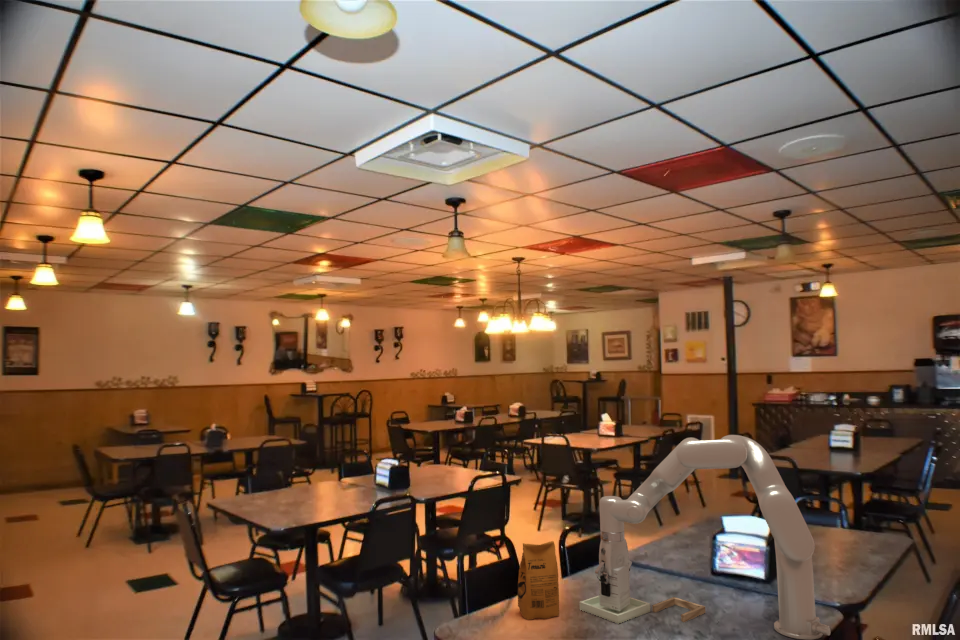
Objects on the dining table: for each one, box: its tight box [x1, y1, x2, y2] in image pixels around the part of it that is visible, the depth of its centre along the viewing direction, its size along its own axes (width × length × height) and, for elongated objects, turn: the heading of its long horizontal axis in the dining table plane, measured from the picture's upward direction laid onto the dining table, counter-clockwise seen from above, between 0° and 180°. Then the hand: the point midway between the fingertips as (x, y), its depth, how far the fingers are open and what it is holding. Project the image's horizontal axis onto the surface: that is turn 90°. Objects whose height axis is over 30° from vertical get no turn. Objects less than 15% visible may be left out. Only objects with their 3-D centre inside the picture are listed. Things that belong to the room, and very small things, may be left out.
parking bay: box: [651, 596, 707, 623], centre depth 200 cm, size 12×12×2 cm
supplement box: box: [598, 565, 631, 611], centre depth 203 cm, size 7×7×13 cm
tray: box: [579, 595, 651, 625], centre depth 202 cm, size 16×16×2 cm
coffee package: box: [517, 540, 560, 621], centre depth 202 cm, size 10×12×22 cm
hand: (614, 592), depth 203 cm, fingers closed on supplement box, 8 cm apart
